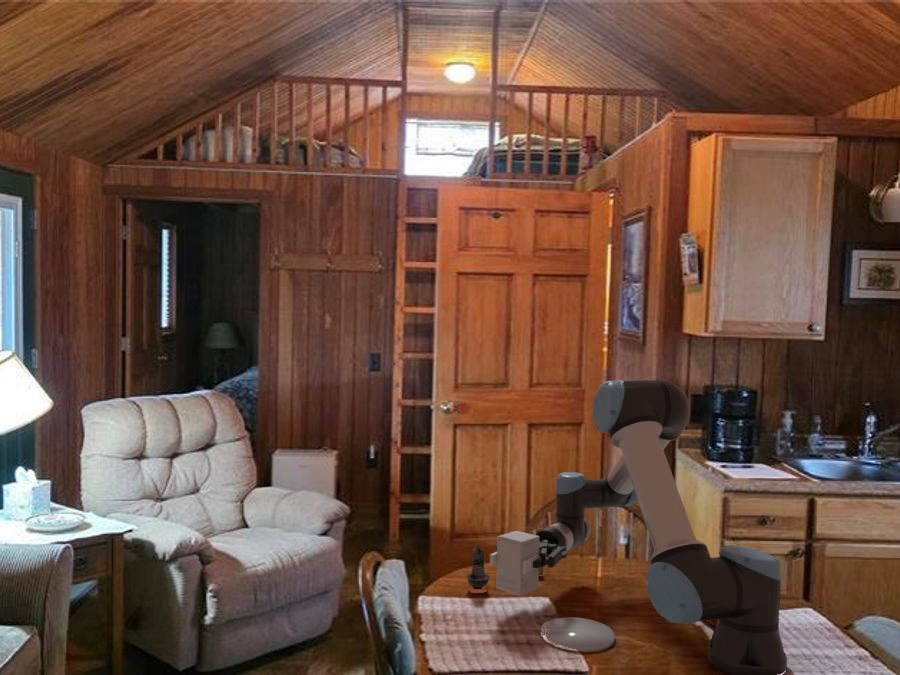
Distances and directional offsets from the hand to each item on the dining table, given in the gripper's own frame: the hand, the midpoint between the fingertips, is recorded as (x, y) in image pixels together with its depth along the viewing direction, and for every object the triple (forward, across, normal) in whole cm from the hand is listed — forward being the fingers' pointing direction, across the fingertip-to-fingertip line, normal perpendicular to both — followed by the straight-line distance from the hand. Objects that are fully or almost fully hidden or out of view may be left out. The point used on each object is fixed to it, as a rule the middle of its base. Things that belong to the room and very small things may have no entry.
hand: (507, 564), depth 183 cm
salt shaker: (-12, +15, -13) cm, 23 cm away
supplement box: (-5, 0, -7) cm, 9 cm away
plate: (-1, -17, -13) cm, 22 cm away
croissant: (-32, -38, -13) cm, 51 cm away
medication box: (-34, +12, -13) cm, 39 cm away
